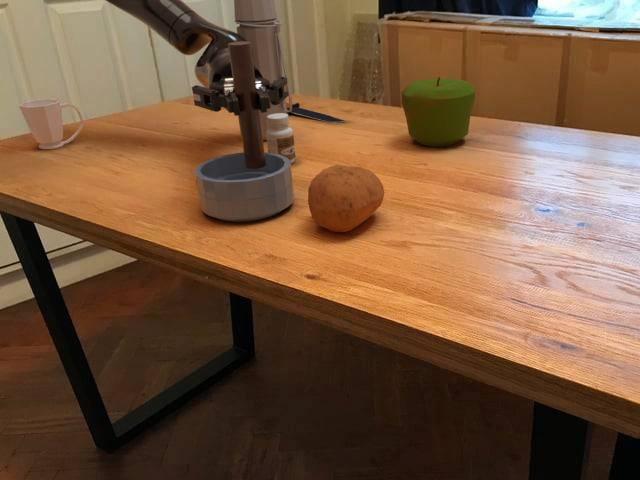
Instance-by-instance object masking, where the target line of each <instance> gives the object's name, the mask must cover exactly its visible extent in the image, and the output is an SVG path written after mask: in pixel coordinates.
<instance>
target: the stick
mask: <svg viewBox="0 0 640 480" xmlns="http://www.w3.org/2000/svg"><path fill="white" fill-rule="evenodd" d="M228 48H229V55H230V62H231V69H232V76H233V83H234V90H235V94H236V96H237V97H238V101H239V108H240V115H239V116H237V118H238V123H239V130H240V131H239V132H240V137H241V145H242V152H244V159H245V166H246V168H248V169H259V168H263V167H265V166H266V160H265V152H266V151H265V145H264V140H263V136H262V128H261V121H260V113H259V105H258V97H257V89H256V82H255V74H254V66H253V58H252V50H251V43H250V42H246V41H241V42H232V43H229V44H228Z"/></svg>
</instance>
